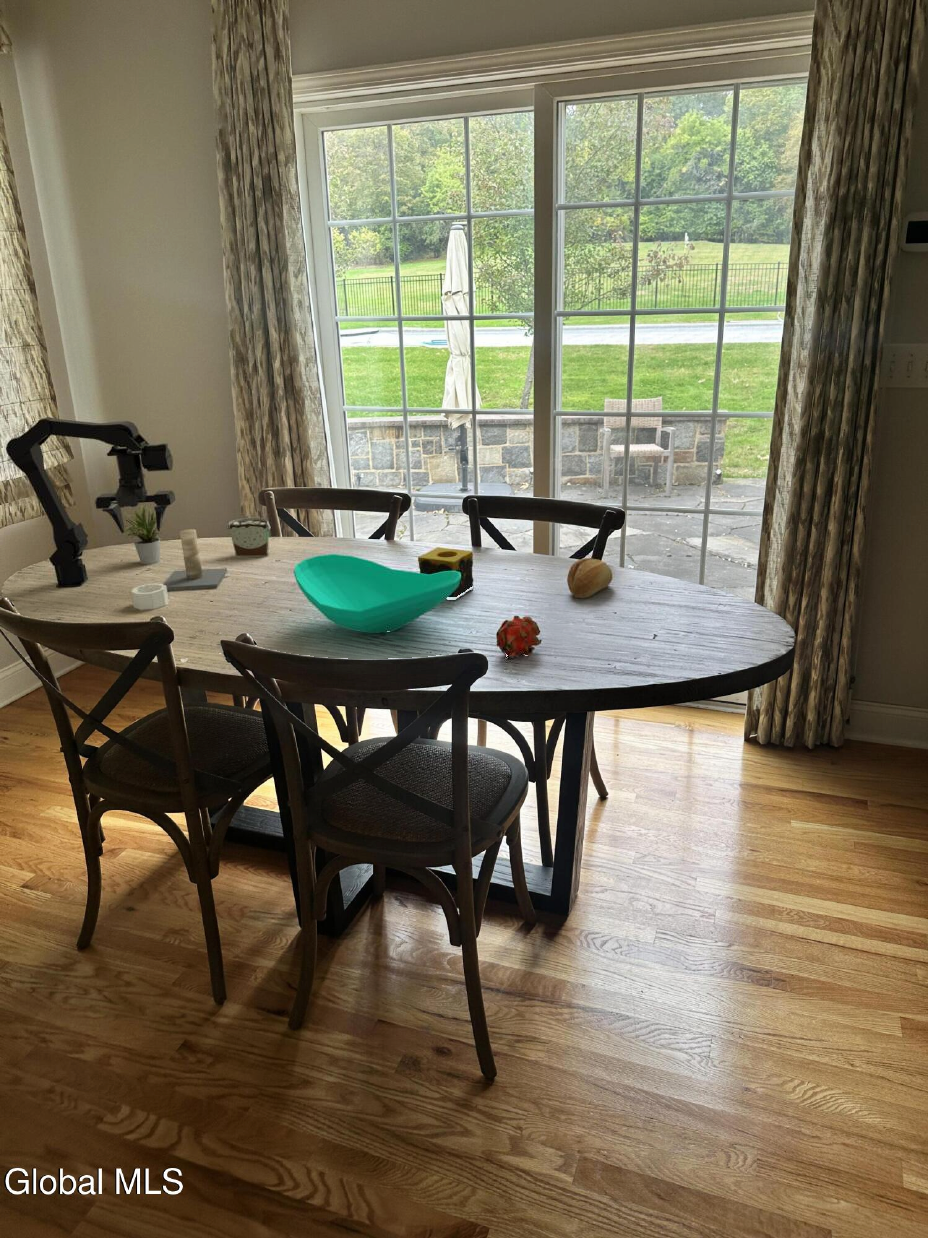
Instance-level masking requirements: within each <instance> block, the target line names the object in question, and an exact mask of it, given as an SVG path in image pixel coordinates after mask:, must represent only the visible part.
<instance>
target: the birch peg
mask: <svg viewBox="0 0 928 1238" xmlns="http://www.w3.org/2000/svg"><path fill="white" fill-rule="evenodd" d="M179 535H180V541H181V542H180V543H181V549H182V553H183V554H182V555H183V561H184V567H185V570H186V575H187V579H189V580H196V579H200V578H202V577H203V574H202V570H203V569H202V562H201V555H200V547H199V542H198V535H197V530H196V529H193V528H192V529H191V528H190V529H183V530H180V531H179Z"/></svg>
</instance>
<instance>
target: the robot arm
mask: <svg viewBox="0 0 928 1238" xmlns="http://www.w3.org/2000/svg"><path fill="white" fill-rule="evenodd" d="M51 436H58V437H67V438H69V437H70V438H79V439H88V440H96V441H100V442H102V443H105V444H108V445H111V448H110V449H109V451H108V452H106V456H107V457H115V458H116V465H117V469H118V476H119V478H118V487H117V490H116V492H110V493H109V492H108V493H101V494H100V495H98V496H97V497H96V498H95V501H94V504H95V508H96V510H97V509H98V510H100V509H101V511H102V512H104V513H105V512H106V513H108V514H109V515H110V517H111V518H112V519H113V520H114V522H115V524H116V525H117V527H118V529H119V531H120V533H121V534H124V533H125V532H124V531H125V527H124V526H125V524H124V517H123V514H122V513H123V512H121V511H122V509H123V508H125V507H127V508H128V507H131V508H134V507H137V506H138V505H139V504H141V503H154V504H155V505H154V507H153V508H154V509H153V510H154V512H155V517H156V523H155V524H156V528H157V529H156V530H157V532H161V530H162V529H161V528H162V526H163V525H162V524H163V520H164V514H165V512H166V510H167V508H168V507H169V506H170V505H172V504H173V503H174V502H175V501H176V494H175V493H174V491H173V490H169V489H168V490H158V491H157V492H155V493H154V494H148V489H146V483H145V478H146V477H145V473H144V472H143V471H144V470H143V469H145V470H146V471H147V472H166V471H167V472H169V471H172V470H173V465H174V460H173V454H172V453H171V450H170V449H169V445H168V443H166V442H163V443H157V444H150V443H149V442H148V441H147V440H146V439H145V437H143V436H142V435H141V434H140V432H139V428H138V427H137V426H136V425H135V424H134V422H133V421H130V420H129V421H128V420H122V421H121V420H119V421H110V422H101V423H100V422H91V421H90V422H89V421H80V420H71V419H70V420H69V419H62V418H61V419H60V418H53V417H51V416H49V417H48V416H47V417H43V418H41V419H38V420H37V422H36V423H35V424H34V425H33V426H32V427H30V428H29V429H28V430H27V431H25V432H23V434H21V435H19V436H17V437H14V438H12V439H10V440H9V441H8V442H7V444H6V447H5V451H6V453H7V455H8V457H9V459H10V460H11V461H12V462H13V464H14V465H15V466H16V468H18V469H19V470H20V471H21V472H23V473H24V475H25V476H26V478H27V480H28V481H29V483H30V485H31V488H32V489H33V491H34V494H35V495H36V497H37V500H38V501H39V503H40V505H41V507H42V509H43V510H44V512H45V515H46V516H47V519H48V520H49V522H50V524H51V526H52V536H53V541H54V545H55V548H56V549H55V551H54V552H53V553H52V554H51V555H50V557H49V559H48V560H49V561H50V563H51V565H52V566H53V567H54V568H53V569H54V571H55V576H56V577H55V578H56V582H57V583H56V585H54V586H55V588H64V587H65V588H66V587H68V588H69V587H80V586H82V585H84V584H85V582H87V580H89V576H88V572H87V567H86V564H84V562H83V558H81V557H82V556H83V553H84V551H85V549H87V547H88V545H89V544H88V543H89V541H88V537H89V535H88V534H87V532H86V531H85V529H84V525H83V524H82V522H78V523H77V524H76V523H75V522H74V521H73V520H72V519H71V518H70V516H69V515H68V512H67V511H66V508H65V506H64V504H63V502H62V500H61V498H60V496H59V494H58V492H57V491H56V488H55V487H54V484H53V483H52V481H51V478H50V476H49V475H48V472H47V470H46V469H45V461H44V453H43V450H42V448H41V447H42V445H43V444H45V442H46V441H47V440H49V438H50V437H51ZM121 508H122V509H121Z"/></svg>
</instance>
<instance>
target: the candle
mask: <svg viewBox="0 0 928 1238" xmlns="http://www.w3.org/2000/svg"><path fill="white" fill-rule="evenodd" d="M473 557H474V554H473V551H471V550H465V549H458V548H457V549H455V548H448V547H447V548H446V547H445V548H444V547H439V546H438V547H435V548H434V549H432V550H430V551H428V552H426V553H423V554H422V555H419V556H418V557H417V562H418V569H419V573H423V574H429V575H430V574H434V573H439V572H444V571H457V572H460V573H461V579H460V583H459V586H458V587H457V588H456V589H455V590H454V591H453V593H452V594H451V595H450V596H449V597H457V596H458V595H460V594H461V593H463V592H465V591H466V590H467V589H469V588H470V587H472V586H473V587H474V577H473V576H474V575H473V565H474V558H473Z"/></svg>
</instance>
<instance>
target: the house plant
mask: <svg viewBox="0 0 928 1238" xmlns="http://www.w3.org/2000/svg"><path fill="white" fill-rule="evenodd" d="M147 508H148V506H145V507H144V505H141V507H140V514H139V513H138V512H137V511H136V510H134V514H135V517H133V516H132V515H130V514H129V513H127V512H126V511H122V510H121V513H124V515H127V516H128V517H129V518H130V519H128V518H126V517H125V518H124V520H125V521H126V522H128V523H129V524H130V525H132V526H125V525H124V533H127V532H130V533H128V534H127V536H126V538H128V537H130V536H131V537H130V538H131V539H132V538H134V537H135V536H136V537H138V539H136V540H134V541H133V544H134V546H135V547H134V548H135V550H136V552H137V555H138V558H139V561H140V563H141V564H142V565H154V564H158V563H159V562H161V538H160V537H156V536H157V535H158V534H159V533H160V534H162V531H156V530H157V527H155V524H157V523H156V516H155V517H154V515H155V514H154V512H155V510H151V508H150V507H149V509H148V518H146V510H147ZM151 511H152V512H151ZM163 525H165V523H162V525H161V526H163ZM140 531H141V532H140Z"/></svg>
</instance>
